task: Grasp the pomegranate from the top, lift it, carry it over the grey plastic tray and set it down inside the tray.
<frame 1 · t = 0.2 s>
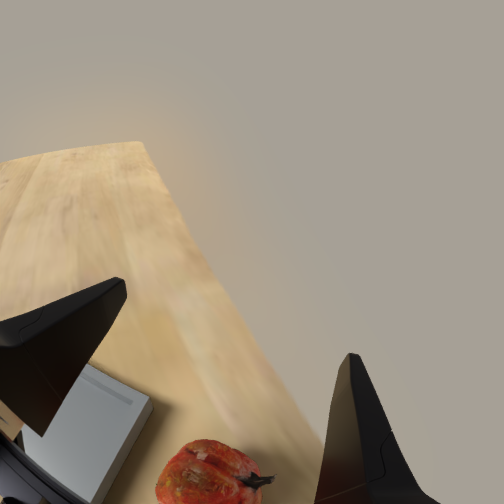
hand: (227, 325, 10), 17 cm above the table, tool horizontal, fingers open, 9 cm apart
tray: (53, 432, 17), on the table
pomegranate: (206, 491, 16), on the table
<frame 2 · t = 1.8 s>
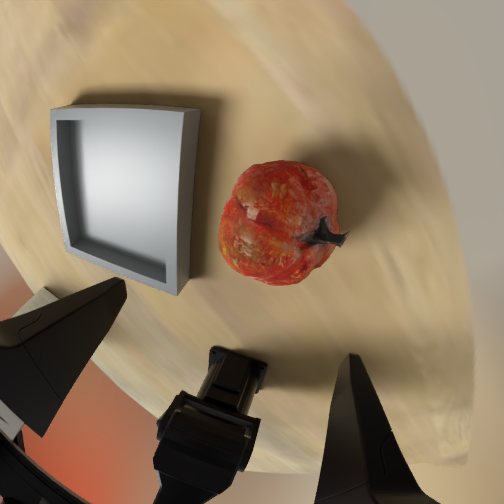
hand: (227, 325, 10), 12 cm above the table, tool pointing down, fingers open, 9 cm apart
tray: (122, 188, 23), on the table
pomegranate: (286, 202, 20), on the table
small box: (62, 309, 39), on the table
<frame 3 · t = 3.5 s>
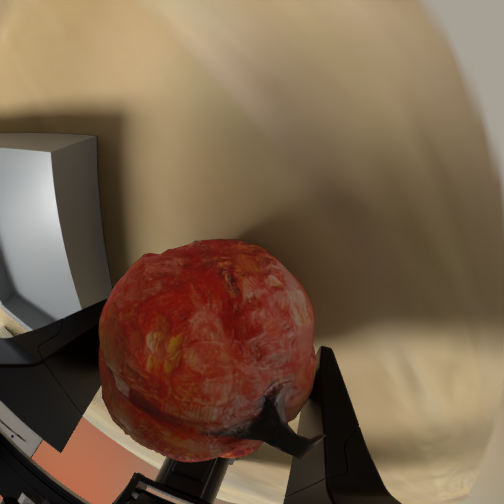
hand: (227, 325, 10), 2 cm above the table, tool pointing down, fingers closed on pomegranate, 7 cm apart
tray: (36, 245, 15), on the table
pomegranate: (234, 289, 12), on the table, touching gripper
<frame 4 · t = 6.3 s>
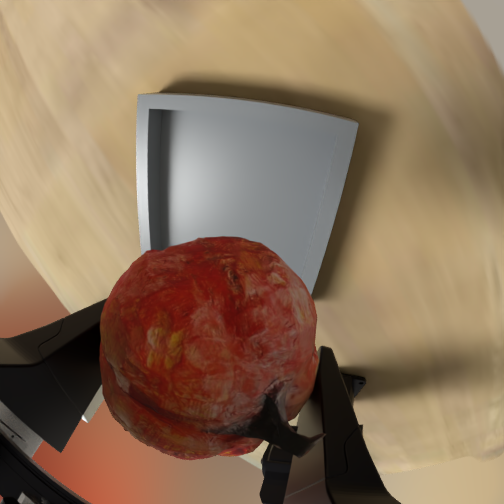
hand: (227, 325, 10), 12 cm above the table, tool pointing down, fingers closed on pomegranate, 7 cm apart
tray: (235, 200, 21), on the table
pomegranate: (236, 287, 12), point 10 cm above the table, touching gripper
small box: (110, 333, 37), on the table
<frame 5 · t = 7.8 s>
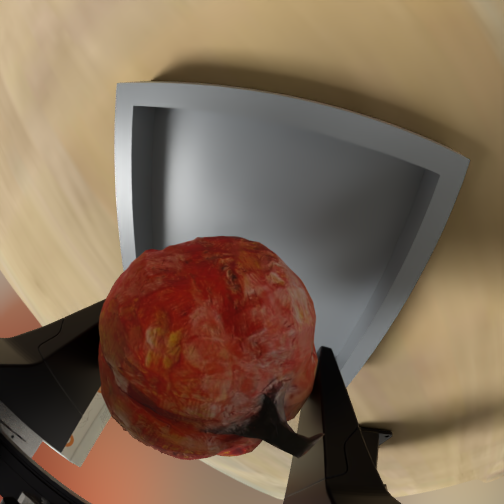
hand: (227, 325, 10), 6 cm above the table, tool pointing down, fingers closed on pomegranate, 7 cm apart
tray: (262, 246, 15), on the table
pomegranate: (236, 287, 12), point 3 cm above the table, touching gripper
small box: (100, 367, 31), on the table
when the fingers open (4 cm above the table, at t = 9.1 s): pomegranate drops 1 cm, resting on tray.
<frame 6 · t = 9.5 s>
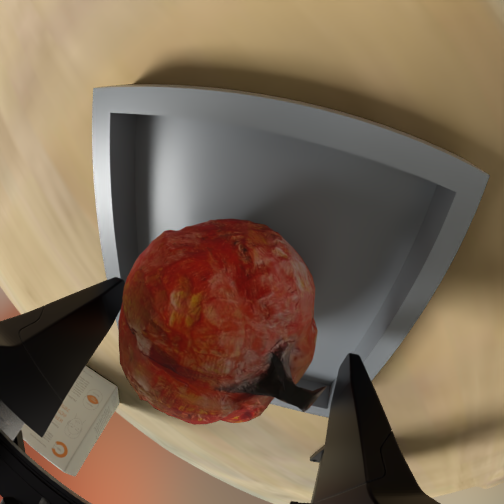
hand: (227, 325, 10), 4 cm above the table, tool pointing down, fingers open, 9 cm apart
tray: (256, 265, 13), on the table
pomegranate: (241, 270, 13), point 1 cm above the table, touching tray
small box: (94, 377, 29), on the table
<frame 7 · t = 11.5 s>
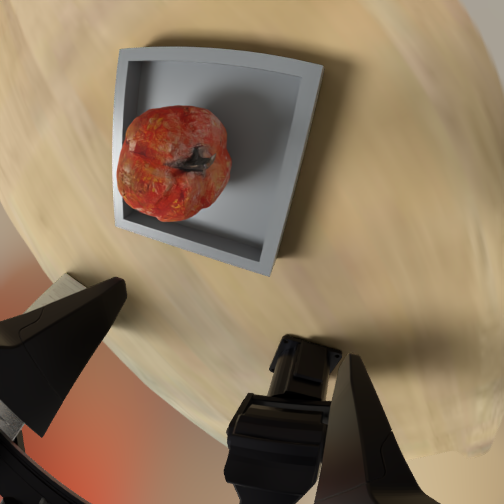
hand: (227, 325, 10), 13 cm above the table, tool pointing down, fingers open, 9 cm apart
tray: (206, 149, 20), on the table
pomegranate: (196, 150, 20), point 1 cm above the table, touching tray
small box: (87, 298, 36), on the table
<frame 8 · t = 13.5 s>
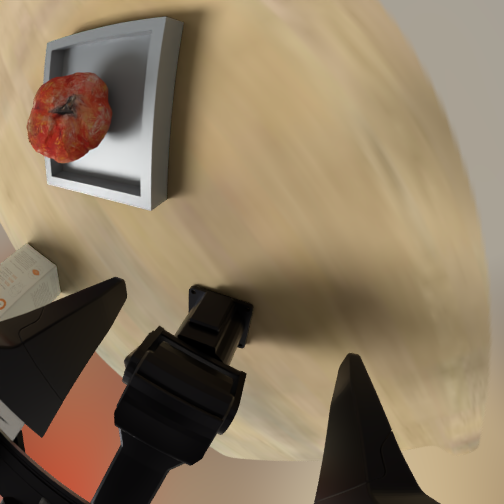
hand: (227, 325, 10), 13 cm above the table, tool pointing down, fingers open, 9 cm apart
tray: (106, 109, 21), on the table
pomegranate: (97, 110, 20), point 1 cm above the table, touching tray
small box: (44, 267, 37), on the table
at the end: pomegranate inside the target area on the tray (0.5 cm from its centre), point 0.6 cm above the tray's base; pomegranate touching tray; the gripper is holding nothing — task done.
